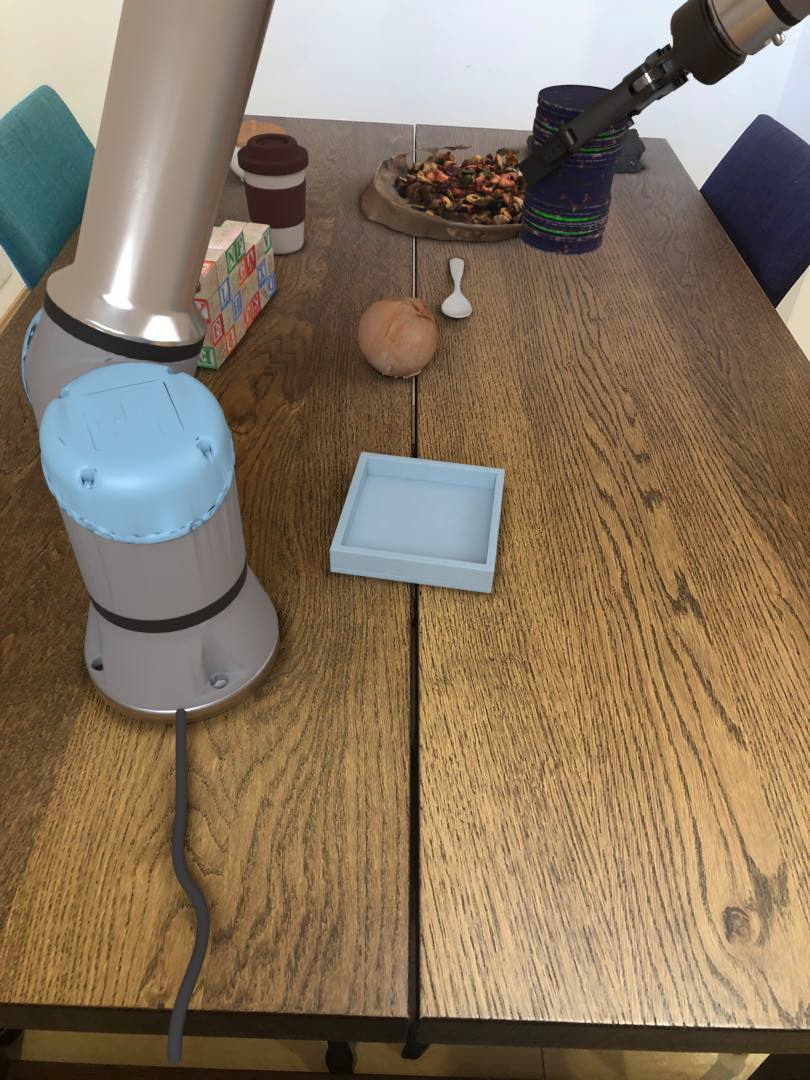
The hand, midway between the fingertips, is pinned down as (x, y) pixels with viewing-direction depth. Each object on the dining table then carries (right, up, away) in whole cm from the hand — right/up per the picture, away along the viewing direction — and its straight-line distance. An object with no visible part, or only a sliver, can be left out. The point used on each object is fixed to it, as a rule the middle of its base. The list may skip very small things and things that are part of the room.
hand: (547, 162), depth 91 cm
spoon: (-9, -7, +24) cm, 26 cm away
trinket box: (-42, +21, +53) cm, 71 cm away
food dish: (-6, +15, +47) cm, 50 cm away
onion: (-17, -21, +8) cm, 29 cm away
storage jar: (+2, -7, +4) cm, 9 cm away
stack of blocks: (-39, -14, +15) cm, 44 cm away
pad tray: (-14, -41, -13) cm, 45 cm away
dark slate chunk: (+18, +31, +66) cm, 75 cm away
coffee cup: (-35, +2, +33) cm, 48 cm away
